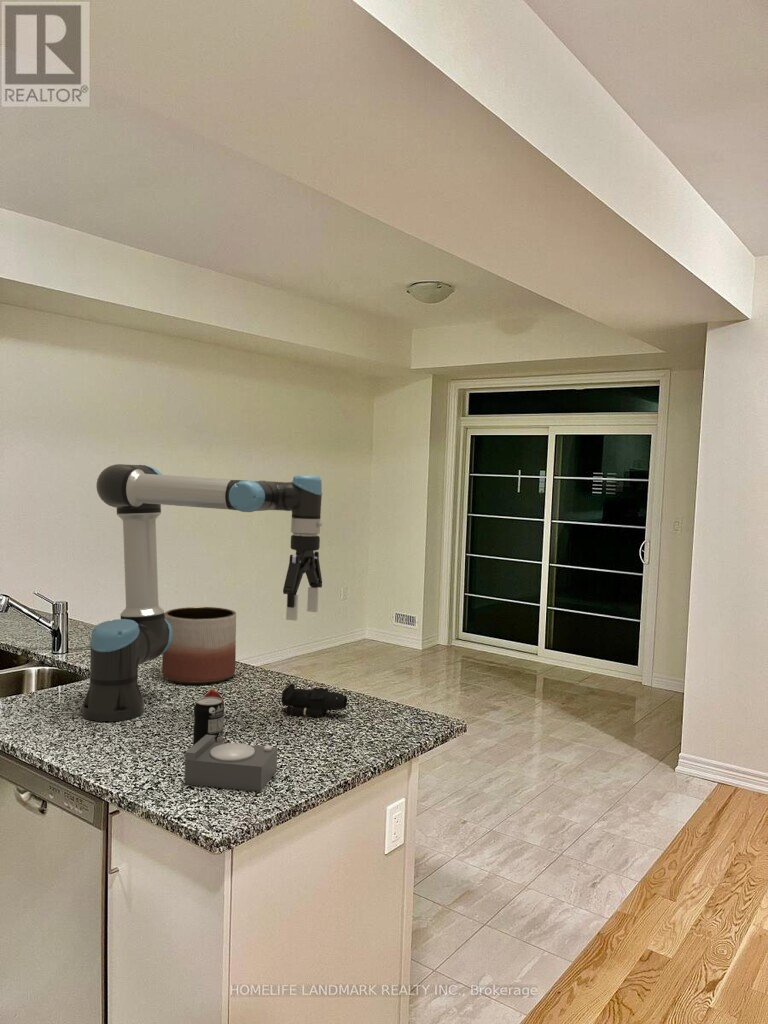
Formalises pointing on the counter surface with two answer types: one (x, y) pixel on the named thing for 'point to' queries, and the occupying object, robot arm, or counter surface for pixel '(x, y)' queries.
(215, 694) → the onion
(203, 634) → the planter
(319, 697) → the night vision scope
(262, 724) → the counter surface
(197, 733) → the beverage can
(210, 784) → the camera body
